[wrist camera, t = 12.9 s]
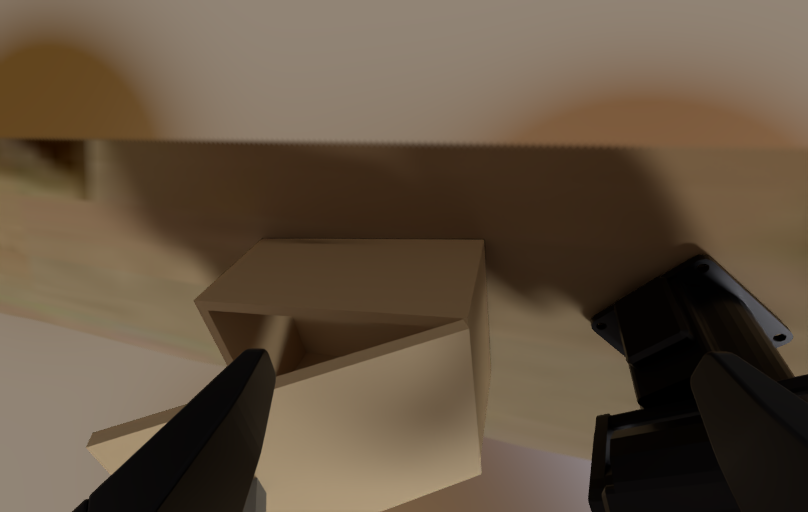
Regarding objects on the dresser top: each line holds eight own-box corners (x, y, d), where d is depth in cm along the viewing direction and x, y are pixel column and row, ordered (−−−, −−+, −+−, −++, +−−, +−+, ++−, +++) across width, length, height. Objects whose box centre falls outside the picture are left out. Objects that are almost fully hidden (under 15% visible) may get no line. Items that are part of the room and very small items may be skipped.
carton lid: (463, 319, 16) (520, 408, 13) (476, 463, 22) (520, 558, 18) (92, 432, 14) (23, 582, 10) (205, 563, 19) (187, 696, 15)
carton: (484, 239, 22) (467, 318, 16) (491, 371, 27) (479, 462, 22) (262, 238, 26) (193, 300, 21) (304, 352, 31) (258, 424, 26)
